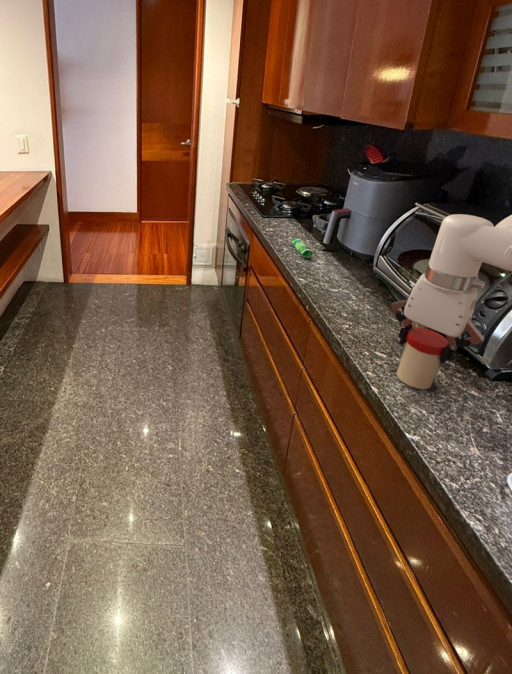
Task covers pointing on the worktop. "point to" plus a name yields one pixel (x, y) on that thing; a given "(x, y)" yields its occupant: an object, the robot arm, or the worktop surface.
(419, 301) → the robot arm
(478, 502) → the worktop surface
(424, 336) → the red lid
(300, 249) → the candy
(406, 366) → the jar
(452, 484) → the worktop surface
